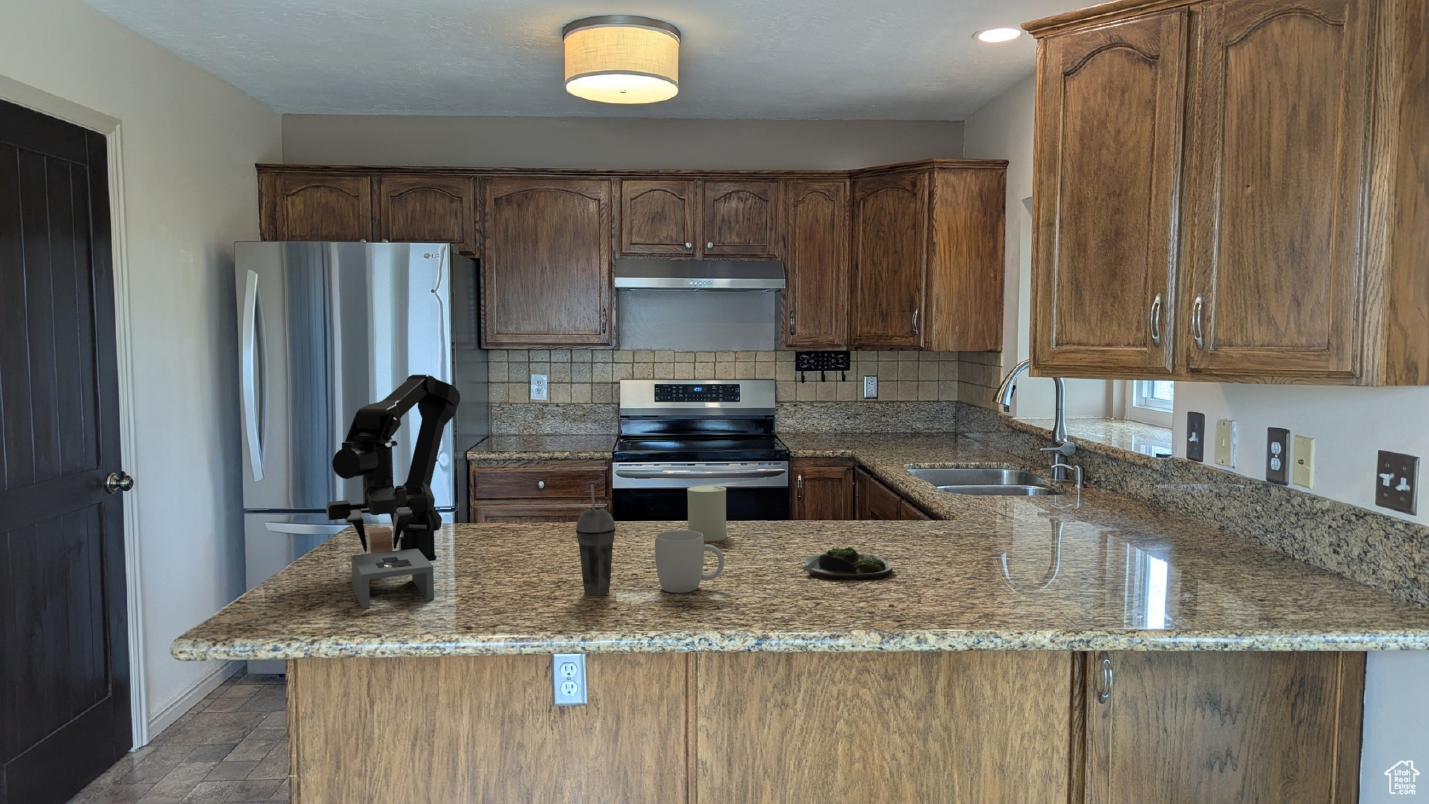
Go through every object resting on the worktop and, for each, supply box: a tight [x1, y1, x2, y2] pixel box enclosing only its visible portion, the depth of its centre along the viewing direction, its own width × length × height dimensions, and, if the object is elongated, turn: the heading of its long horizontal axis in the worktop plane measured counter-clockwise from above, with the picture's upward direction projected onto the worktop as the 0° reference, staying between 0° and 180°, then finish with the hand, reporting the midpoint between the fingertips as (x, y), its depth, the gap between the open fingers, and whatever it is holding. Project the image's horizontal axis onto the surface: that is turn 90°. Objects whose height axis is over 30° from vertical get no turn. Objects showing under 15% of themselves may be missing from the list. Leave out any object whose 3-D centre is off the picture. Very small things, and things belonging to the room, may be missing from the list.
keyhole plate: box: [351, 549, 435, 610], centre depth 166 cm, size 12×16×6 cm
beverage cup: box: [575, 484, 617, 597], centre depth 165 cm, size 7×7×20 cm
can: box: [686, 485, 728, 543], centre depth 211 cm, size 9×9×12 cm
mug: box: [654, 530, 725, 594], centre depth 167 cm, size 13×9×10 cm
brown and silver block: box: [366, 526, 394, 570], centre depth 179 cm, size 4×5×9 cm
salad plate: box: [803, 546, 893, 581], centre depth 182 cm, size 19×18×5 cm
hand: (380, 549), depth 179 cm, fingers open, 5 cm apart
